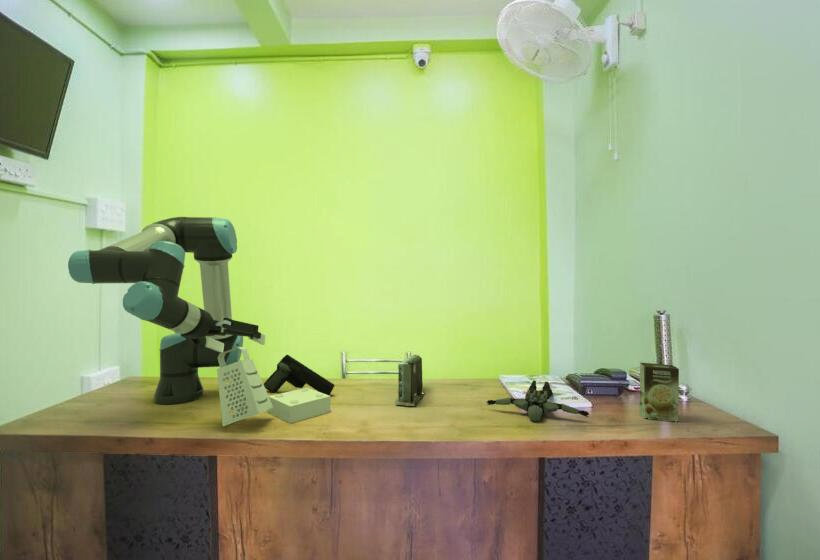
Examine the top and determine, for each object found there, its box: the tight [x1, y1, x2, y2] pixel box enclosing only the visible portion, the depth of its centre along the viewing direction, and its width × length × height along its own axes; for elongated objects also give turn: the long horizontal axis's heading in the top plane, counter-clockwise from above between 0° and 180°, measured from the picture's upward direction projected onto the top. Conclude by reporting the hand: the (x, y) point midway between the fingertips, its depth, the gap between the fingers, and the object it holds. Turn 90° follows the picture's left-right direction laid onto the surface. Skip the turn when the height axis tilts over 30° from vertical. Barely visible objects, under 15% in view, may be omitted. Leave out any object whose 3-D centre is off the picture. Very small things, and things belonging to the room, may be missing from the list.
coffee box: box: [638, 362, 680, 422], centre depth 118 cm, size 9×6×16 cm
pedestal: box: [267, 387, 332, 424], centre depth 123 cm, size 14×14×5 cm
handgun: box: [263, 354, 336, 396], centre depth 142 cm, size 2×24×15 cm, turn 78°
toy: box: [486, 380, 590, 423], centre depth 127 cm, size 30×8×30 cm
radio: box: [394, 354, 425, 407], centre depth 139 cm, size 23×9×15 cm, turn 161°
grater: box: [216, 346, 273, 427], centre depth 113 cm, size 10×10×20 cm
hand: (243, 344), depth 114 cm, fingers open, 13 cm apart
